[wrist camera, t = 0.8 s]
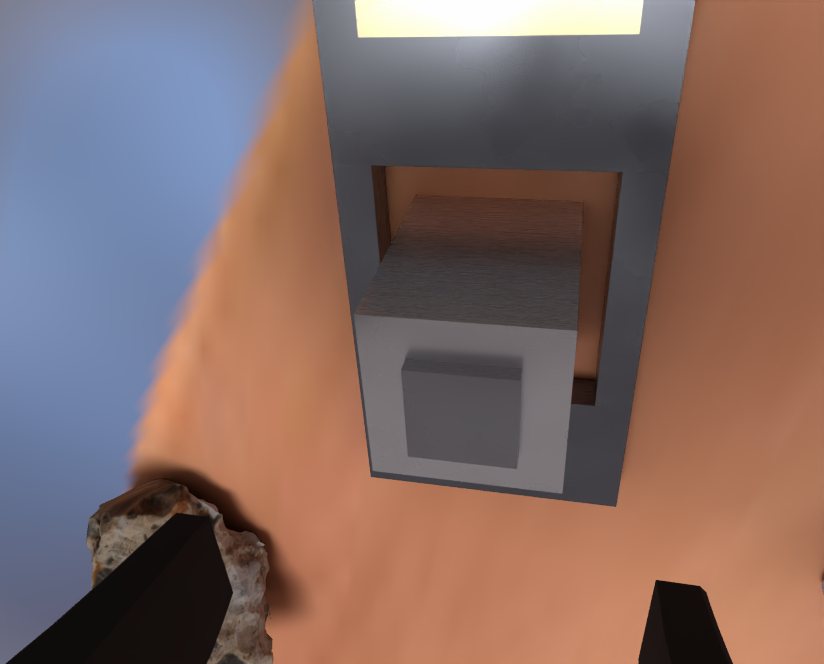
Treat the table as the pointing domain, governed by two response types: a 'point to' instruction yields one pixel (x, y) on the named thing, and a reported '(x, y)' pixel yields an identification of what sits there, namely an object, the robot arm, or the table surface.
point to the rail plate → (515, 151)
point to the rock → (242, 555)
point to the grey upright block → (474, 341)
